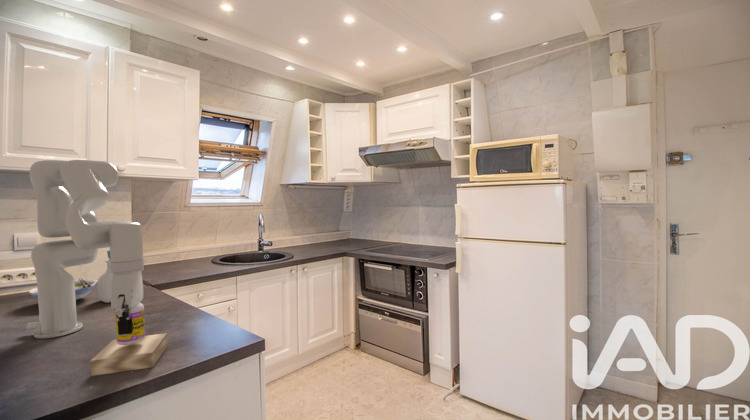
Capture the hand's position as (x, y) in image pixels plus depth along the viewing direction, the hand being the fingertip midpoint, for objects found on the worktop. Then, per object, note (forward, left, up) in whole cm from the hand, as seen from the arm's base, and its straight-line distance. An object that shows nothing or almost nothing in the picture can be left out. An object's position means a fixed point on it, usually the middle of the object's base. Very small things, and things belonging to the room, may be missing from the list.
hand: (130, 328), depth 99 cm
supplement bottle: (0, 0, -4) cm, 4 cm away
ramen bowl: (-51, +75, -9) cm, 91 cm away
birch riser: (0, 0, -9) cm, 9 cm away
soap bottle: (-31, +71, -9) cm, 78 cm away
